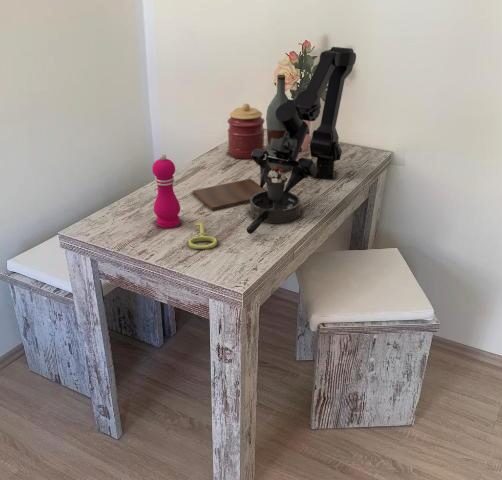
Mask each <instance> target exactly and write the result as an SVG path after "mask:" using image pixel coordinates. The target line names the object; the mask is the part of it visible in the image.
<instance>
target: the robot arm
mask: <svg viewBox="0 0 502 480" xmlns="http://www.w3.org/2000/svg"><path fill="white" fill-rule="evenodd" d="M356 61H357V54H356V52H355V51H354V49H353V48H351V47H341V46H332V47H331V48H330V49H327V50H324V51H321V52H320V55H319V61H318V62H317V64H316V67H315V69H314V71H313V73H312V75H311V77H310V79H309V81H308V83H307V85H306V87H305V88H304V90H302V91H301V92H300V93H298V94H297V95H296V96H295V99H290V98H288V100H287V102H286V103H284V104H282V105H280V106H279V107H278V108H277V110H276V118H277V119H278V121H279V122H280V124H281V126H282V127H283V129H284V130H285V131H286V132H285V134H284V137H281V138H280V139H275V138H271V141H270V145H269V150H273V153H274V154H275V155H276V157H274V156H270V155H269V153H268V152H267V151H266V149H264V150H261V149H255V150H253V152H252V154H251V157H252V158H251V159H252V160H253V162H255V164H256V165H258V166H259V167H260V175H259V176H260V177H259V180H260V181H259V182H260V183H259V185H260V187H261V188H264V186H265V185H266V183H265V182H264V177H265V174H267V175H268V174H269V172H270V171H271V170H272V169H271V168H270V165H271V163H274V164H278V165H283V166H288V167H290V168H292V169H291V174H290V176H289V179H288V180H287V182H286V184H285V187H284V192H285V193H288V192H290V191H291V190H293V188H294V187H296V186H297V185H298V184H299V183H300V182H301V181H303V180H304V179H308V177H312V178H315V179H324V180H325V179H326V180H334V179H335V177H336V176H335V175H336V170H335V162H336V161H341V156H342V152H343V150H342V147H341V146H340V144H339V140H340V139H339V138H340V137H339V134H338V131H337V128H336V126H337V123H338V122H337V121H338V116H339V111H340V106H341V100H342V97H343V91H344V85H345V81H346V79H347V78H348V76H349V75H350V74H351V73H352V72H353V69H354V68H353V67H354V66H355V64H356ZM325 90H326V93H325V98H324V103H323V108H322V104H321V98H322V95H323V93H324V91H325ZM321 109H322V113H321ZM320 114H321V120H320V125H319V126H318V127H317V128H316V129H314V130H313V132H312V137H311V140H310V142H309V152H310V157H311V158H312V159H311V158H306V157H299V158H298V156H299V154H300V153H302V152H303V148H302V147H303V144H304V141H305V139H306V136H307V135H310V128H309V124H308V123H307V122H315V121H316V120H317V119H318V118H319V116H320ZM306 121H307V122H306ZM313 158H316V163H315V161H314V160H313ZM297 159H298V160H297ZM280 161H283V162H282V163H281V162H280Z"/></svg>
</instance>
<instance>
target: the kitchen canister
mask: <svg viewBox="0 0 502 480" xmlns="http://www.w3.org/2000/svg"><path fill="white" fill-rule="evenodd" d="M229 116H230V117H229V118H228V119H227V123H228V129H227V134H228V135H227V137H228V138H227V140H228V141H227V143H228V146H227V151H228V154H229V156H231V157H234V158H236V159H246V160H248V159H249V160H250V159H253V158H252V157H251V154H252V152H253V150H255V149H261V150H265V145H264V144H265V128H264V123H265V121H266V119H264V118H263V117H262V116H263V112H262V111H260V110H259V109H258V108H255V107H250V104H249V103H243V104H242V106H241V107H237V108H234V109H233V110H232V111H230V113H229Z"/></svg>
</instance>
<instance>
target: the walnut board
mask: <svg viewBox="0 0 502 480" xmlns="http://www.w3.org/2000/svg"><path fill="white" fill-rule="evenodd" d="M262 191H267V189H266V188H264V187H263V188H261V187H260V184H258V183H257V182H255V181H254V180H252V179H251V178H247V179H243V180H238V181H232V182H228V183H223V184H219V185H214V186H213V185H212V186H209V187H208V186H207V187H203V188H198V189H193V190H192V194H193V195H194V197H196V198H197V199H198V200H200V202H202V203H203V204H204V205H206V207H207V208H209V209H210V210H211V211H217V210H221V209H225V208H231V207H235V206H238V205H239V206H240V205H243V204H248V203H250V199H251V197H252V196H253V195H255V194H256V193H259V192H262Z"/></svg>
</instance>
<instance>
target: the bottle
mask: <svg viewBox="0 0 502 480" xmlns="http://www.w3.org/2000/svg"><path fill="white" fill-rule="evenodd" d="M276 77H277V79H276V80H277V81H276V94H275V95H274V97H273V98H272V100H271V101H270V103H269V105H268V106H267V109H266V114H265V115H266V117H265V121H266V139H267V142H266V147H265V148H266V149H265V150H266V151H267V152H268V153H269V155H270V156H274V157H276V155H275V154H274V153H273V150H269V145H270V141H271V138H275V139H280V138H281V137H284V134H285V132H286V131H285V130H284V129H283V127H282V126H281V124H280V122H279V121H278V119H277V118H276V110H277V108H278V107H279V106H280V105H282V104H284V103H286V102H287V100H288V99H289V98H288V96H287V94H286V77H287V76H286V75H285V74H277V76H276ZM277 166H278V169H279V168H282V169H283V171H282V172H286V171H289V170H290V169H291V167H288V166H283V165H278V164H274V163H271V165H270V168H271V169H274V167H277Z"/></svg>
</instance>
